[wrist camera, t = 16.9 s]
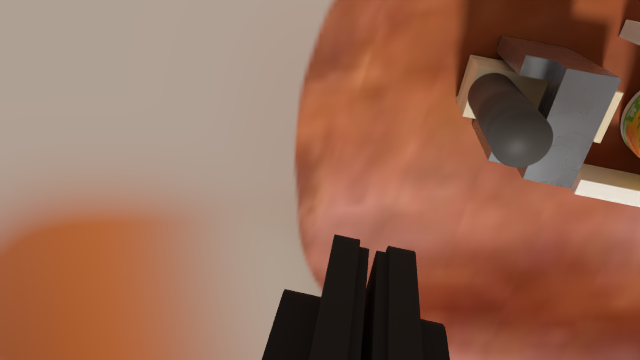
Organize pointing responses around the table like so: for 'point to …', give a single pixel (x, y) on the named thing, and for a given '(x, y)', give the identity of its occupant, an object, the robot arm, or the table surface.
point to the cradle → (608, 180)
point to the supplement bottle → (632, 124)
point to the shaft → (512, 111)
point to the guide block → (560, 105)
